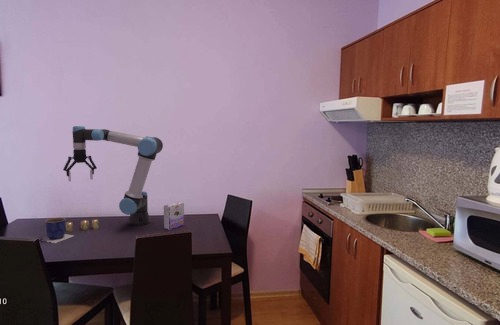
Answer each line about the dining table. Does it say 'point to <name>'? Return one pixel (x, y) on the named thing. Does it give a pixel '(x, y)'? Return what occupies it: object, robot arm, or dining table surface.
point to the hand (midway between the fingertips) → (80, 180)
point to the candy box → (173, 215)
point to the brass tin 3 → (95, 224)
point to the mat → (60, 238)
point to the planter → (55, 228)
